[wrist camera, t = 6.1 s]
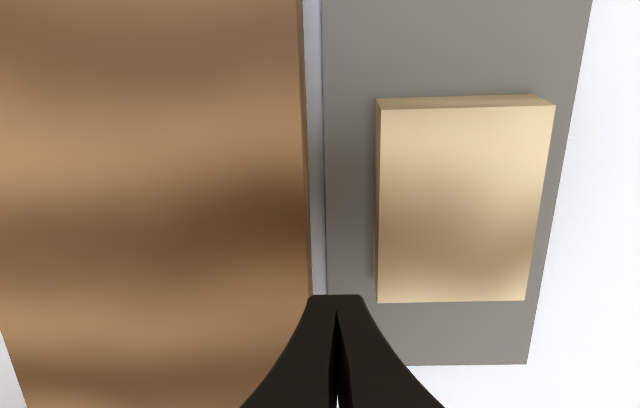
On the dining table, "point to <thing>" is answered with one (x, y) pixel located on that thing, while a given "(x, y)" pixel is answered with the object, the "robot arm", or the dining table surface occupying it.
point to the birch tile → (457, 195)
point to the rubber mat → (437, 81)
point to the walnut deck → (151, 198)
